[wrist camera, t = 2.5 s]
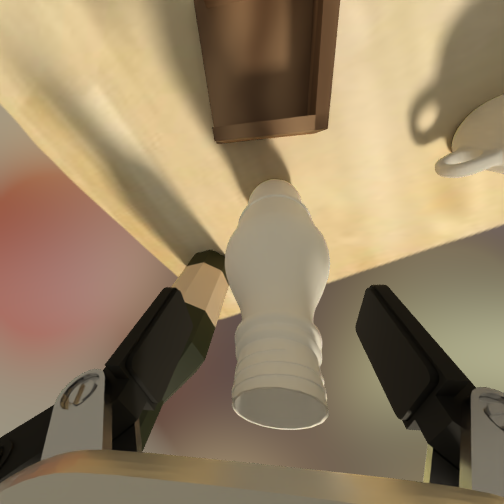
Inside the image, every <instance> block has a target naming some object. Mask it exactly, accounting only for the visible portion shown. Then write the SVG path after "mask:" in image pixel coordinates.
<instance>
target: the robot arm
mask: <svg viewBox="0 0 504 504" xmlns="http://www.w3.org/2000/svg"><path fill="white" fill-rule="evenodd" d="M192 328H193V324H192V321H191V318H190V315H189V313H188V310H187V307H186V304H185V302H184V299H183V296H182V293H181V291H180V290H178V289H177V288H176V287H169V288H168V287H166V288H164V289H163V290H162V291H161V292H160V294H159V295H158V296H157V298H156V299H155V300H154V302H153V303H152V304H151V306H150V307H149V308H148V309H147V311H146V312H145V313H144V315H143V316H142V317H141V319H140V320H139V321H138V322H137V324H136V325H135V326H134V328H133V329H132V330H131V331H130V333H129V334H128V335H127V337H126V338H125V339H124V341H123V342H122V343H121V344H120V346H119V347H118V348H117V350H116V351H115V352H114V354H113V355H112V356H111V358H110V359H109V360H108V361H107V363H106V364H105V366H106V367H105V368H104V370H103V371H102V370H100V369H93V370H89V371H87V372H84V373H82V374H81V375H79V376H78V377H76V378H75V379H74V380H72V381H71V382H70V383H69V384H68V385H67V386H66V387H65V388H64V389H63V390H62V391H61V393H60V394H59V396H58V397H57V399H56V402H55V404H54V405H53V406H51V407H50V408H48V409H47V410H45V411H44V412H42V413H40V414H38V415H37V416H35V417H34V418H32V419H30V420H29V421H27V422H25V423H24V424H22V425H20V426H19V427H17V428H15V429H14V430H12V431H11V432H9V433H7V434H6V435H4V436H2V437H1V438H0V504H504V393H502V392H500V391H498V390H495V389H491V388H487V387H477V388H476V387H475V386H474V385H473V384H472V383H471V381H470V380H469V379H468V378H467V377H466V376H465V375H464V373H463V372H462V371H461V370H460V369H459V368H458V367H457V365H456V364H455V363H454V362H453V361H452V360H451V358H450V357H449V356H448V355H447V354H446V353H445V352H444V350H443V349H442V348H441V347H440V346H439V345H438V343H437V342H436V341H435V340H434V339H433V338H432V337H431V335H430V334H429V333H428V332H427V331H426V330H425V329H424V328H423V326H422V325H421V324H420V323H419V322H418V321H417V319H416V318H415V317H414V316H413V315H412V314H411V313H410V311H409V310H408V309H407V308H406V307H405V306H404V304H402V302H401V301H400V300H399V299H398V297H397V296H396V295H395V294H394V293H393V292H392V291H391V290H390V288H389V287H388V286H386V285H371V286H370V287H369V288H367V289H366V291H365V295H364V298H363V302H362V305H361V309H360V312H359V316H358V320H357V323H356V332H357V335H358V337H359V339H360V341H361V343H362V345H363V348H364V350H365V352H366V354H367V355H368V358H369V360H370V362H371V364H372V366H373V368H374V371H375V373H376V375H377V377H378V379H379V381H380V383H381V385H382V387H383V390H384V391H385V393H386V396H387V398H388V400H389V402H390V404H391V406H392V408H393V410H394V412H395V414H396V416H397V417H398V418H399V419H401V420H402V421H403V423H404V425H405V427H406V429H409V430H421V432H422V433H423V435H424V437H425V439H426V441H427V443H428V446H427V454H426V461H425V462H426V463H425V469H424V477H423V482H417V481H409V480H401V479H394V478H385V477H376V476H366V475H358V474H348V473H339V472H330V471H321V470H311V469H303V468H292V467H283V466H274V465H264V464H255V463H245V462H236V461H225V460H216V459H206V458H196V457H186V456H176V455H166V454H156V453H145V452H142V443H141V433H140V424H139V416H140V414H141V412H142V410H155V408H156V406H157V403H159V402H160V401H161V400H162V398H163V396H164V394H165V392H166V390H167V387H168V385H169V383H170V380H171V378H172V376H173V373H174V371H175V369H176V366H177V364H178V362H179V359H180V357H181V355H182V352H183V350H184V348H185V346H186V343H187V341H188V339H189V336H190V334H191V332H192Z"/></svg>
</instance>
